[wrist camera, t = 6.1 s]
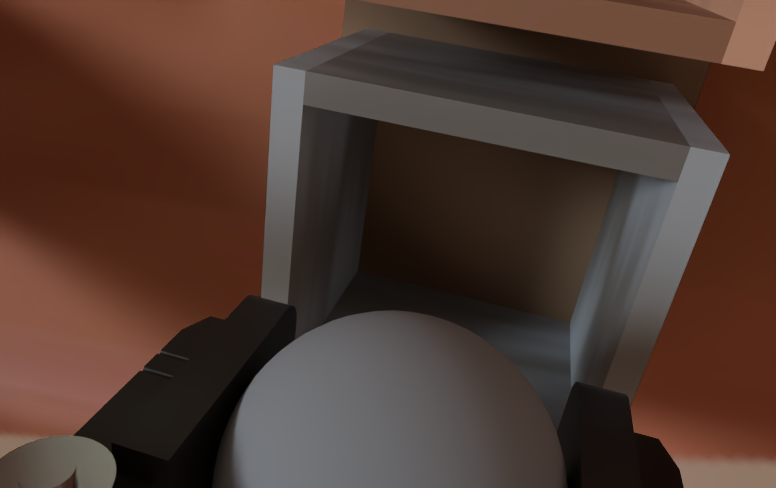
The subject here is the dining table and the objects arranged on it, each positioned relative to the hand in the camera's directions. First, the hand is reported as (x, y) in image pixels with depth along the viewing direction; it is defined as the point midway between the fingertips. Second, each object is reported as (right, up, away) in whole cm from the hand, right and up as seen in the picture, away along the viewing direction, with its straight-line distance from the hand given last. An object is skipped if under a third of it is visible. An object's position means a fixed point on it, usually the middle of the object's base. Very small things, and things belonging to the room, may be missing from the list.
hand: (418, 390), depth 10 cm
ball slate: (0, 0, 0) cm, 0 cm away
